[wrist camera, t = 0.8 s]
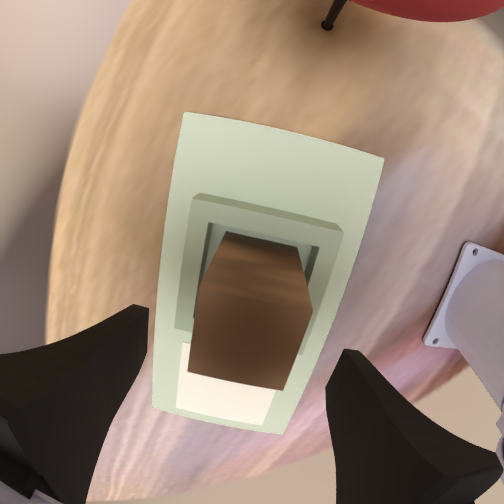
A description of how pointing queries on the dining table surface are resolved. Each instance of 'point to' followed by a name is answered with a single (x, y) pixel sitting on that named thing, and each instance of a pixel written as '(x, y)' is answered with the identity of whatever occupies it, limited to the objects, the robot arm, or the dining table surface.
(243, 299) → the walnut post
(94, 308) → the dining table surface
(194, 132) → the pocket board
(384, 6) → the lollipop
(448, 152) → the dining table surface
